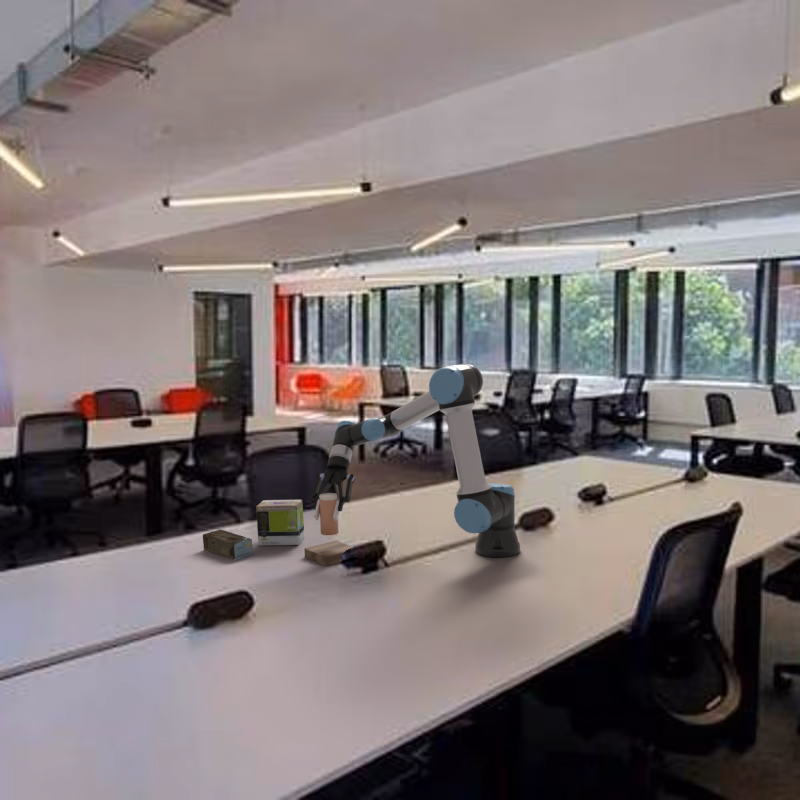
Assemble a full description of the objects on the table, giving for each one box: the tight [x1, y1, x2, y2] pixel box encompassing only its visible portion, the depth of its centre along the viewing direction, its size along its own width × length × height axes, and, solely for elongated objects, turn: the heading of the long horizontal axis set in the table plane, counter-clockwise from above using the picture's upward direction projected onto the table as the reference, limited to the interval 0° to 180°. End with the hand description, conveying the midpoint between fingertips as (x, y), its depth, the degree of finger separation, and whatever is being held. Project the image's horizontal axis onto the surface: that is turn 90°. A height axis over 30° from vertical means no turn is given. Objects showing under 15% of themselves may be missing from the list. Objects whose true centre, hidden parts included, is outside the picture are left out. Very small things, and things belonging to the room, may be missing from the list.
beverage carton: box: [202, 528, 254, 560], centre depth 272 cm, size 8×19×7 cm, turn 48°
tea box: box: [255, 499, 305, 546], centre depth 282 cm, size 15×10×15 cm, turn 84°
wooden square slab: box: [304, 540, 354, 566], centre depth 263 cm, size 13×13×3 cm
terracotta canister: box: [319, 492, 339, 536], centre depth 262 cm, size 6×6×13 cm
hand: (325, 518), depth 258 cm, fingers closed on terracotta canister, 6 cm apart
